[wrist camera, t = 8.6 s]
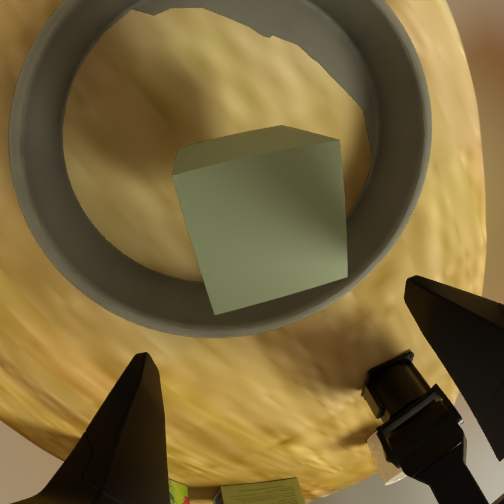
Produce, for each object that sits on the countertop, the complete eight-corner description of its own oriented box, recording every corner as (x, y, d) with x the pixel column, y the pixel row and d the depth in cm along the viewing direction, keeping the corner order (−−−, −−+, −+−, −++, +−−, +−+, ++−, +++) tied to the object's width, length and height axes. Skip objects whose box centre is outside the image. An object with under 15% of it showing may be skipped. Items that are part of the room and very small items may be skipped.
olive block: (281, 125, 14) (339, 139, 8) (295, 218, 16) (347, 276, 11) (178, 148, 13) (172, 175, 8) (203, 242, 16) (215, 315, 10)
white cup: (359, 448, 45) (379, 489, 36) (368, 430, 41) (392, 476, 33) (394, 433, 46) (415, 471, 38) (406, 414, 43) (431, 455, 34)
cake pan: (20, 19, 10) (-14, 7, 6) (370, -30, 13) (406, -47, 9) (106, 326, 22) (96, 367, 18) (389, 260, 25) (418, 287, 21)
